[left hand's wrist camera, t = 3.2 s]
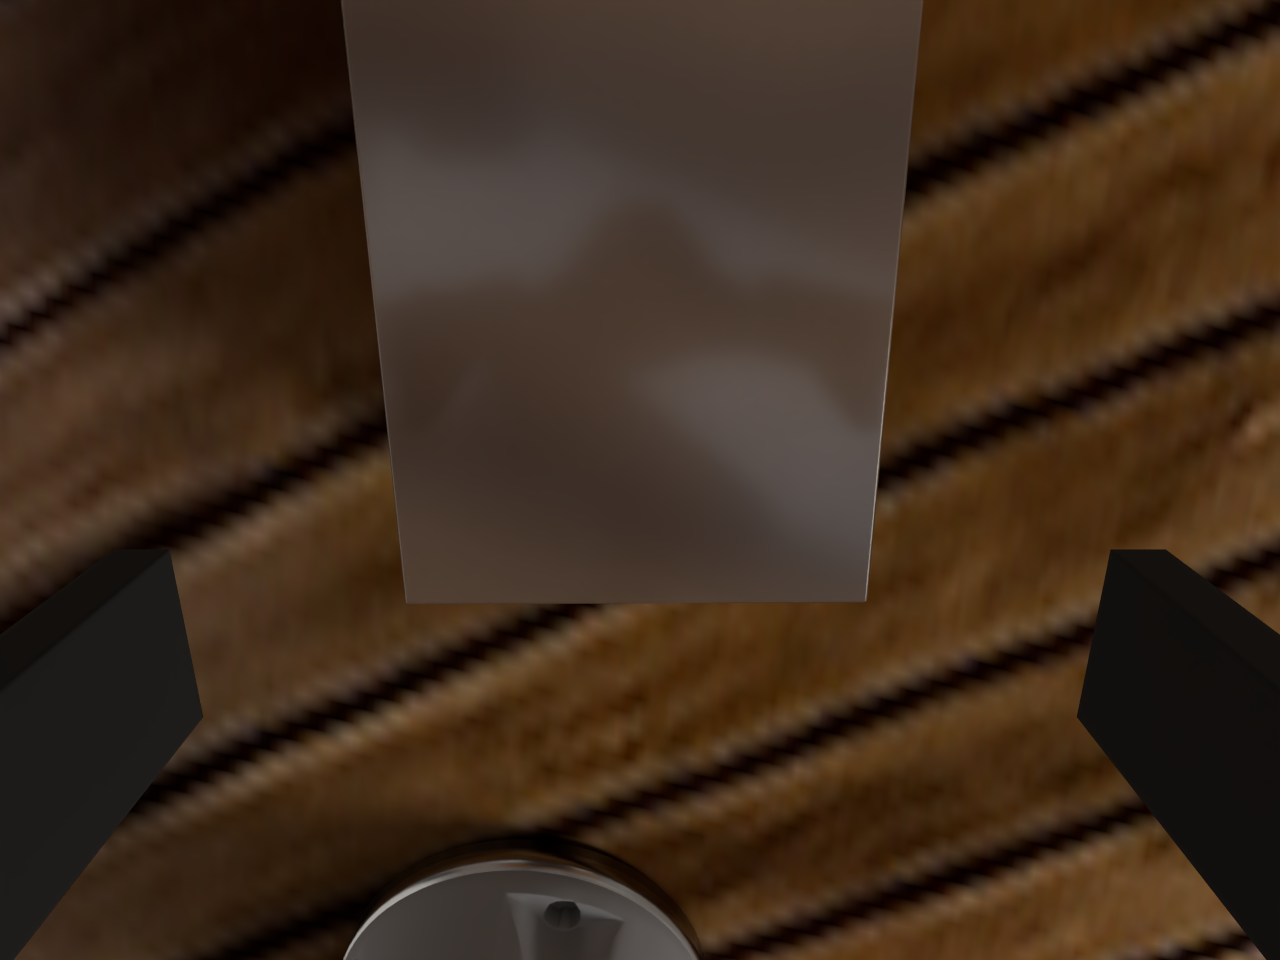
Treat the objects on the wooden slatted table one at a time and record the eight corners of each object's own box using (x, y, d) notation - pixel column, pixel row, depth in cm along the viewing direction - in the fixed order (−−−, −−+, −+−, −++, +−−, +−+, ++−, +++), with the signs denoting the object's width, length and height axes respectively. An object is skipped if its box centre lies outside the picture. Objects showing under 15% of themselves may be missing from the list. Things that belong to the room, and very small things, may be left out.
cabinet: (420, -339, 22) (263, -692, 13) (845, -343, 22) (990, -697, 13) (478, 465, 30) (405, 605, 20) (797, 464, 30) (867, 603, 20)
